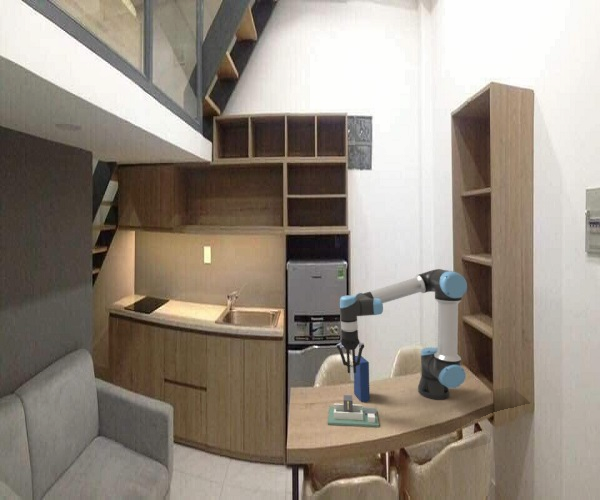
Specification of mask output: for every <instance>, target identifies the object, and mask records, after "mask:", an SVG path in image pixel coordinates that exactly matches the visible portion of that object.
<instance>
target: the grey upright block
mask: <svg viewBox="0 0 600 500" xmlns="http://www.w3.org/2000/svg"><path fill="white" fill-rule="evenodd" d="M343 404H344V412H353V404H354V402H353V395H350V394H343Z"/></svg>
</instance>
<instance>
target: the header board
mask: <svg viewBox="0 0 600 500" xmlns="http://www.w3.org/2000/svg"><path fill="white" fill-rule="evenodd" d="M328 407H329V408H328V417H327V425H328V426H349V427H363V428H364V427H367V428H369V427H370V428H379V427H380V424H379V423H380V422H379V417H378V411H377V408H376V407H363V404H358V403H357V404H356V403H355V404H354V403H353V412H344V403H333V406H332V405H330V406H328Z"/></svg>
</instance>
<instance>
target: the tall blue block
mask: <svg viewBox="0 0 600 500" xmlns="http://www.w3.org/2000/svg"><path fill="white" fill-rule="evenodd" d="M357 357H358V355H355V362H357ZM353 393H354V395H355V397H357V398H358V400H359V401H360V402H362V403H366V402H367V403H368V402H369V401H370V398H371V397H370V362H369V361H368V360H367V359H365V358H364V356H362V355H361V359H360V364H359V365H357V366H356V373H354V381H353Z"/></svg>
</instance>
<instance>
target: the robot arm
mask: <svg viewBox="0 0 600 500" xmlns="http://www.w3.org/2000/svg"><path fill="white" fill-rule="evenodd" d="M467 288H468V284H467V281H466V279H465V277H464V276H463V275H462V274H460V273H459V272H457V271H454V270H453V271H452V270H449V269H448V270H447V269H442V268H437V269H432V270H428V271H426V272H422V273H420V274H416V275H415V277H413V278H409V279H405V280H403V281H400V282H397V283H396V282H395V283H393V284H389V285H386V286H383V287H381V288H378V289H374V290H371V291H368V292H364V293H362V292H358V293H356V294H355V295H342V296H341V297H340V299H339V310H340V311H339V313H340V329H341V341H340V342H339V343H336V348H337V349H338V352H339V354H340V357H341V361H342V364H343V366H346V367H347V374H349V375H350V381H351V382H354V373H356V366H357V365H359V364H360V359H361V356H362V352H363V350H364V348H365V343H364V342H360V339H359V330H358V326H359V325H358V317H365V316H378V315H382V314H383V312H384V304H386V303H388V302H392V301H395V300H399V299H403V298H405V297H408V296H411V295H416V294H419V293H421V294H425V293H430V292H433V293H434V300H435V301H436V302H437V347H434V346H433V347H432V346H431V347H429V346H428V347H424V348H422V349H421V352H420V364H421V365H420V369H421V371H420V372H421V373H420V375H421V377H420V379H419V382H418V384H417V385H418V386H417V393H419V394H420V396H423V397H424V398H427V399H432V400H445V399H447V398H448V397H450V389H457V388H458V387H460V386H461V385H462V384H463V383H465V381H466V375H467V373H466V371H465V369H464V368H463V367H462V358H461V356H460V355H459V354H458V335H459V333H458V331H459V329H458V327H459V304H460V303H461V302H462V301H463V296H464V294H466V292H467V290H468V289H467ZM358 347H359V348H358ZM342 348H344V349H345V350H346V357H345V355H344V352H343V349H342ZM357 348H358V349H359V350H358V353H357V356H358V357H357V362H355V356H356V349H357ZM350 351H351V354H352V364H351V358H350Z"/></svg>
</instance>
